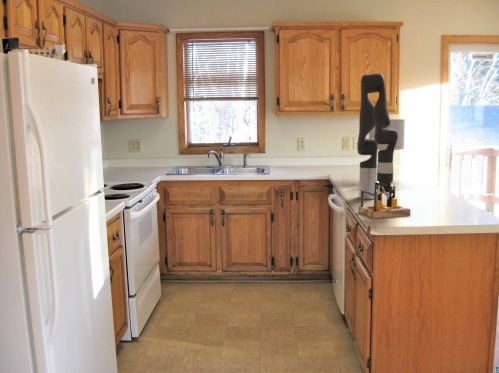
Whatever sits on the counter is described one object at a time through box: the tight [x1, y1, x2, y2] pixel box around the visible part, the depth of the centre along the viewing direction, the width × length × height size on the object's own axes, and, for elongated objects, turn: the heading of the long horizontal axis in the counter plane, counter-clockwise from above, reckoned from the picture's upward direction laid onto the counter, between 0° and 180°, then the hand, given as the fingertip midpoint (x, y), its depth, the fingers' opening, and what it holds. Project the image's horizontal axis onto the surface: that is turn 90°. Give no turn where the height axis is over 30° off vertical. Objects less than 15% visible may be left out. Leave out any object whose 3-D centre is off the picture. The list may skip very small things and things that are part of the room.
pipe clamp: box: [376, 197, 398, 210], centre depth 250 cm, size 12×4×6 cm, turn 121°
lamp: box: [368, 118, 406, 184], centre depth 349 cm, size 23×23×42 cm
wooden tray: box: [358, 190, 412, 219], centre depth 249 cm, size 15×19×11 cm
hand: (384, 205), depth 249 cm, fingers open, 8 cm apart
